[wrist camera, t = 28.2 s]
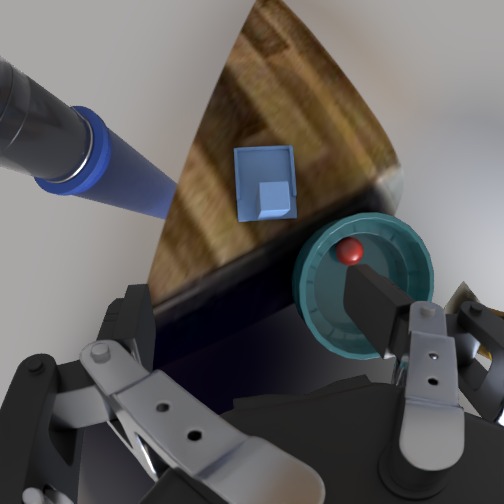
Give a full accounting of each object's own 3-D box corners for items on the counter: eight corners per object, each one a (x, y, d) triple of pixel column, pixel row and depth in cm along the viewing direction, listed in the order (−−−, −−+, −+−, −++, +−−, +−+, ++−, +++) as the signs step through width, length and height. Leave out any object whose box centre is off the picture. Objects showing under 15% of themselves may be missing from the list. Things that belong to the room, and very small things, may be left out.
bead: (330, 240, 34) (334, 240, 37) (336, 269, 34) (340, 267, 37) (359, 233, 33) (360, 234, 36) (365, 263, 33) (366, 261, 36)
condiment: (462, 355, 38) (513, 382, 26) (432, 323, 37) (487, 348, 25) (489, 315, 37) (543, 332, 25) (461, 280, 37) (520, 291, 25)
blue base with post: (296, 218, 37) (316, 208, 26) (238, 221, 37) (234, 213, 26) (290, 147, 37) (306, 112, 26) (234, 150, 36) (228, 115, 25)
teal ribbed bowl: (294, 349, 37) (302, 367, 31) (287, 219, 37) (295, 215, 31) (408, 334, 37) (431, 347, 31) (406, 215, 37) (431, 211, 31)
